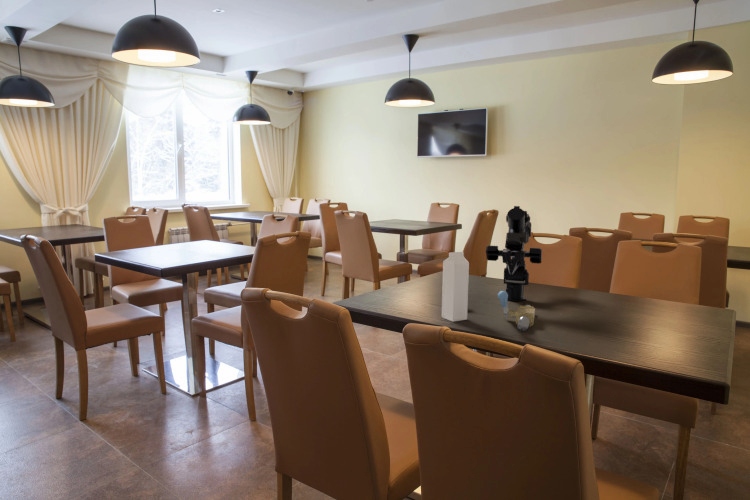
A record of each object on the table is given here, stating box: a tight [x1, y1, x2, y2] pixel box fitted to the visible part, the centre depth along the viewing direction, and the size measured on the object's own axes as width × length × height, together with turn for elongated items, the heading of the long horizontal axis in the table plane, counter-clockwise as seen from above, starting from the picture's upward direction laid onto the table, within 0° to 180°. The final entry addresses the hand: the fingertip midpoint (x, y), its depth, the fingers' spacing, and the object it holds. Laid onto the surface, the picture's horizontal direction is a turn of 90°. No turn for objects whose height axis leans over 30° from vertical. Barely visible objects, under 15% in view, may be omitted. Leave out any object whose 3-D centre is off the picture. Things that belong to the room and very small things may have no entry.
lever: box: [497, 290, 509, 318], centre depth 156 cm, size 3×3×18 cm
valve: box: [508, 304, 536, 332], centre depth 160 cm, size 22×8×4 cm, turn 159°
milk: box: [441, 251, 470, 322], centre depth 162 cm, size 6×6×22 cm
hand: (511, 273), depth 170 cm, fingers closed
